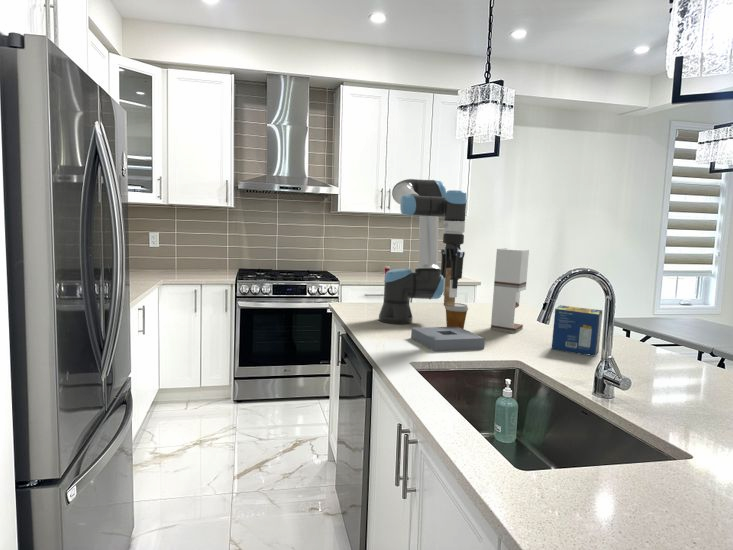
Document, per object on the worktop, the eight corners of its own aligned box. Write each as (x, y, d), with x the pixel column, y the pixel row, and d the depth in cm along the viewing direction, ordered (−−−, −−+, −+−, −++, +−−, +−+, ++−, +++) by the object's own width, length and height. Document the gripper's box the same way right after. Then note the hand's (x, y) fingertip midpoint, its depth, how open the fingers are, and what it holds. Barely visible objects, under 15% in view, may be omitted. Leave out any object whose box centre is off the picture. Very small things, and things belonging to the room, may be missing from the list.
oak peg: (441, 304, 193) (444, 267, 192) (451, 304, 194) (453, 267, 193) (446, 306, 189) (449, 268, 188) (456, 306, 191) (459, 268, 189)
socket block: (411, 337, 200) (411, 327, 199) (456, 336, 206) (457, 326, 206) (434, 351, 181) (435, 340, 180) (484, 348, 188) (484, 338, 187)
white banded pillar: (515, 333, 217) (522, 250, 214) (490, 329, 223) (496, 248, 219) (522, 329, 227) (529, 249, 223) (498, 325, 233) (504, 248, 229)
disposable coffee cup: (465, 331, 216) (467, 303, 215) (467, 336, 207) (469, 307, 205) (442, 330, 217) (444, 302, 216) (443, 335, 207) (445, 305, 206)
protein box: (556, 344, 201) (559, 304, 200) (599, 350, 194) (603, 310, 192) (550, 349, 192) (554, 308, 191) (595, 356, 185) (599, 313, 183)
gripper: (433, 232, 196) (430, 293, 198) (456, 233, 180) (452, 299, 182) (451, 232, 198) (447, 293, 201) (475, 234, 182) (470, 299, 185)
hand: (449, 296), depth 191 cm, fingers closed on oak peg, 4 cm apart
